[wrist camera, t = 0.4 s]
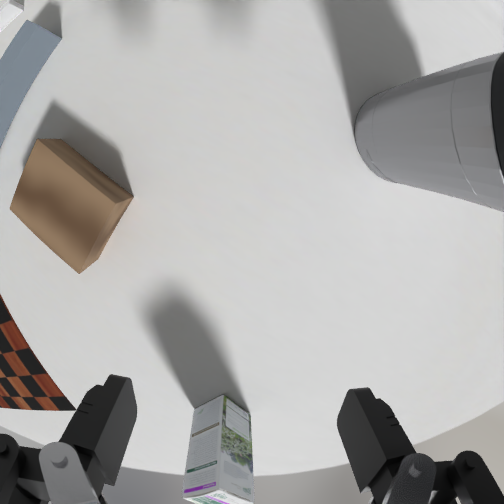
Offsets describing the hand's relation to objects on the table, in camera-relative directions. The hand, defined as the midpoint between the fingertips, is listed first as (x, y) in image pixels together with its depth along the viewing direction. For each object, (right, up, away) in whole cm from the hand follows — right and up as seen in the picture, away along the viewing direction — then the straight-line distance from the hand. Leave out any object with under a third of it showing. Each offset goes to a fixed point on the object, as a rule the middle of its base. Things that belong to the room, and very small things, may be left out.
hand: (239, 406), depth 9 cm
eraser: (-32, +37, +7) cm, 50 cm away
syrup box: (-4, -16, +25) cm, 30 cm away
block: (-18, +11, +16) cm, 26 cm away
